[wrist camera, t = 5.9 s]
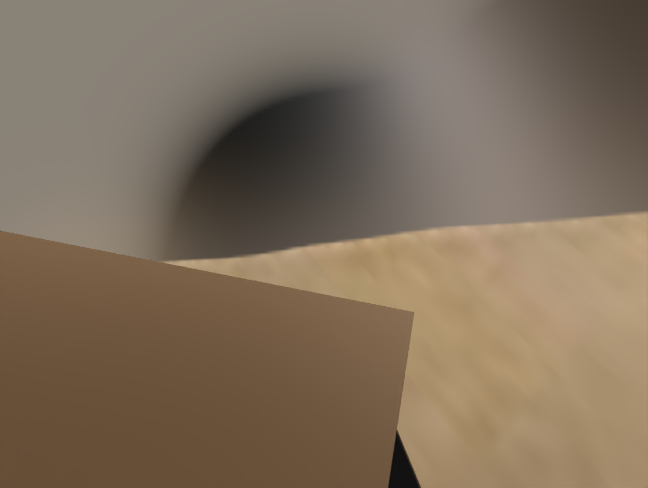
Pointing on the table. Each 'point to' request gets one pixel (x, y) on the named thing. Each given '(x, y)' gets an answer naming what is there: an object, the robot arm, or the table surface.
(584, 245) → the table surface
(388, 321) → the walnut block
